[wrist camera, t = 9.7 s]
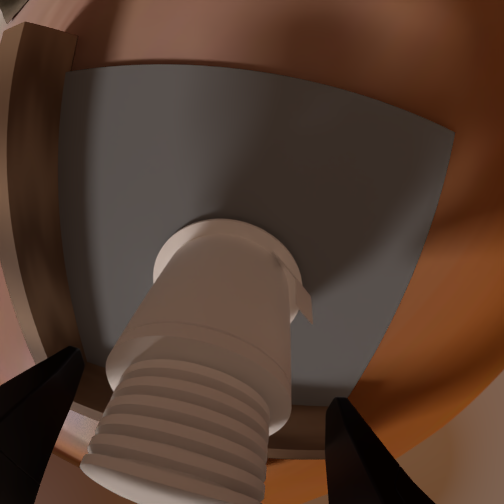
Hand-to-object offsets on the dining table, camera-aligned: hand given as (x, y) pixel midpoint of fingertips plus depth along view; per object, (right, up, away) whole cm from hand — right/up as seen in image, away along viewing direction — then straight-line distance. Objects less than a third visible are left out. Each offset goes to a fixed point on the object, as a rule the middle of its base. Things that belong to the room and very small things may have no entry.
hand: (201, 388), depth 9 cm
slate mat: (0, +3, +5) cm, 6 cm away
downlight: (0, +3, +5) cm, 6 cm away
